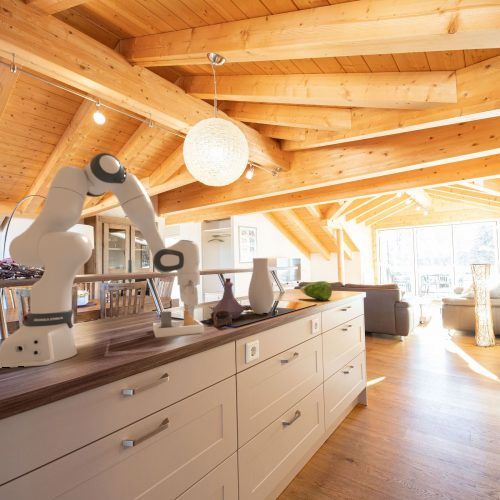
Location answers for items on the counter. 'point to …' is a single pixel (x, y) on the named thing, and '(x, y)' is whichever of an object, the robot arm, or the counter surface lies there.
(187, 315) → the orange cylinder
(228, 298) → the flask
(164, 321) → the charcoal jaw peg
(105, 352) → the counter surface
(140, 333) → the counter surface
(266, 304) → the vase
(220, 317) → the pottery mug
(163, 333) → the housing
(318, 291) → the lettuce
